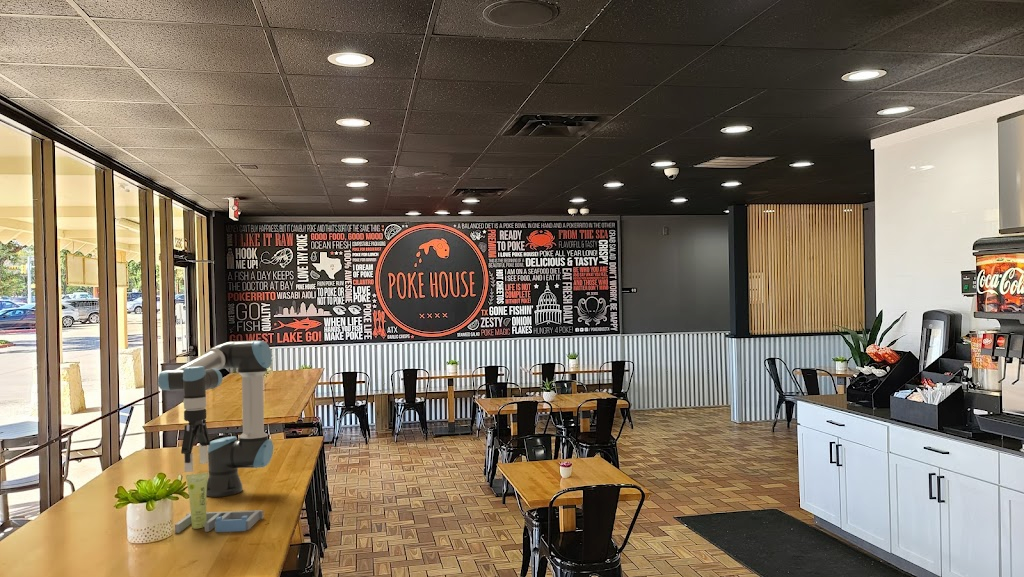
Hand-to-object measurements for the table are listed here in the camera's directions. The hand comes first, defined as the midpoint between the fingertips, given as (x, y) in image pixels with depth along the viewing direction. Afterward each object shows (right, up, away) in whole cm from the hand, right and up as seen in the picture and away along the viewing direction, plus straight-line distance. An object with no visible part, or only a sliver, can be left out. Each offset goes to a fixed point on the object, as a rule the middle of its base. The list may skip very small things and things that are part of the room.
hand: (196, 467), depth 272 cm
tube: (+1, -22, 0) cm, 22 cm away
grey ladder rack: (+8, -22, +1) cm, 23 cm away
